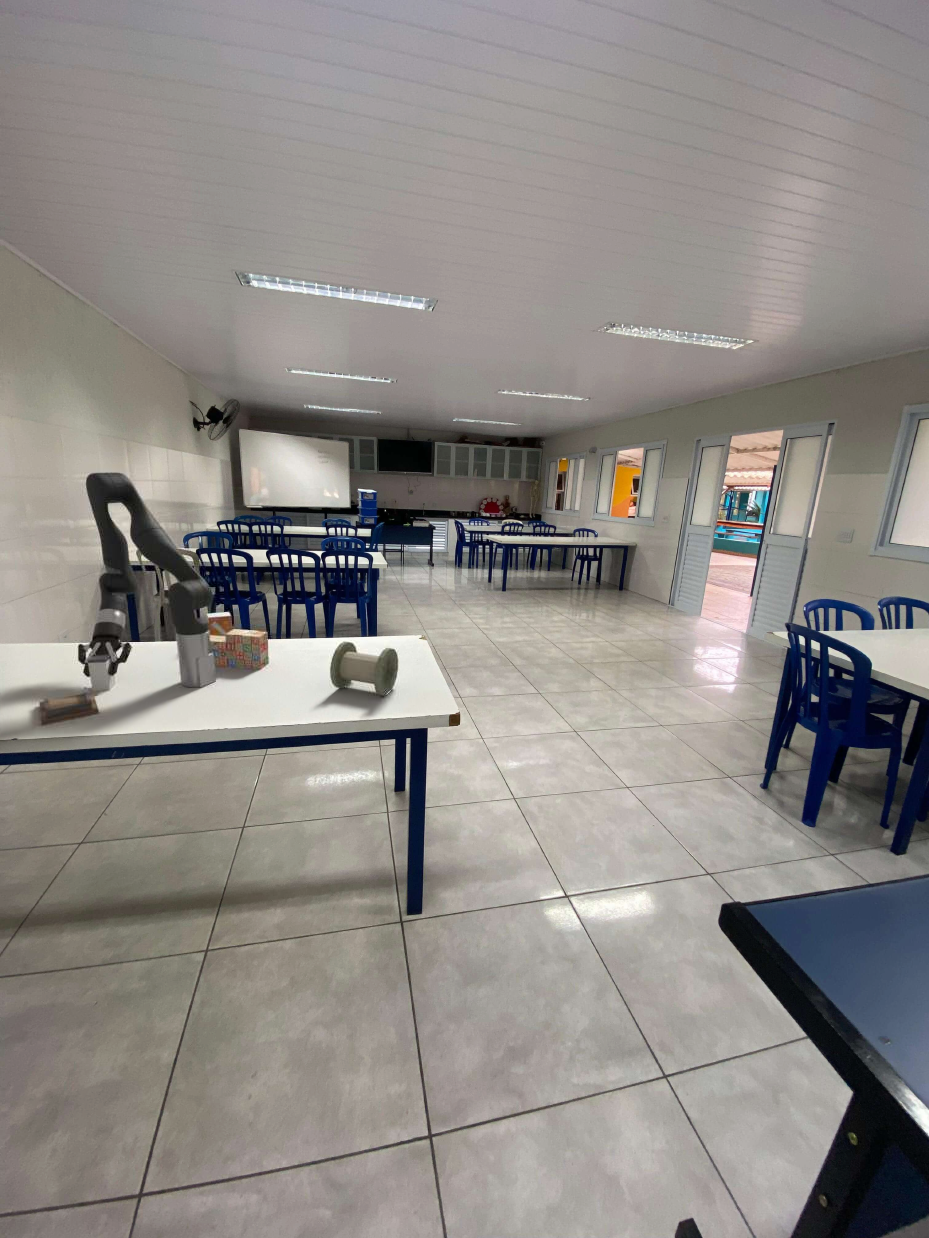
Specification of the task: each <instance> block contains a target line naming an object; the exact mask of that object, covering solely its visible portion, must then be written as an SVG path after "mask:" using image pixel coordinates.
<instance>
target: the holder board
mask: <svg viewBox="0 0 929 1238" xmlns="http://www.w3.org/2000/svg"><path fill="white" fill-rule="evenodd" d="M38 705H39V716H40V724H41V726H44V725H51V724H55V723H59V722H63V721H69V720H73V719H78V718H83V717H88V716H92V715H97V714H100V711H99V706H98V704H97V701H96V697H95V694H94V691H91V692H89V690H88V686H85V687H83V693H80V694H73V695H69V696H64V697H59V698H53V699H49V695H48V694H47V693H46V694H43V700H41V701H39V702H38Z"/></svg>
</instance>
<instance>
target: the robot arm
mask: <svg viewBox="0 0 929 1238" xmlns="http://www.w3.org/2000/svg"><path fill="white" fill-rule="evenodd" d="M85 487H86V494H87V498H88V501H89V504H90V508H91V510H92V514H93V517H94V521H95V523H96V527H97V530H98V533H99V534H98V535H99V539H100V545H101V554H102V555H101V556H102V561H103V565H105V566H106V567H108V568H111V569H114V570H115V569H116V570H117V571H119V572H109V571H108V572H104V573H103V574H101V575H100V576H99V578H98V579H99V580H98V584H99V589H100V597H101V599H100V606H99V611H98V613H97V616H96V619H95V624H94V629H93V633H92V638H91V641H90V642H89V643H88V644H83V643H79V644H78V645H77V654H78V655H77V661H78V662H79V663H80V664H81V665H84V667H83V671H82V672H83V674H84V675H85V677H86V678H87V677H88V678H90V672H89V666H88V659H89V658H91V657H92V656H94V655H102V654H109V655H110V656H111V659H112V662H111V664H110V669H109V674H110V675H111V676H114V677H115V675H116V674H117V673H118V667H119V665H120V664H126V663H127V661H128V658H129V656H130V653H131V651H132V648H133V645H131V643H130V642H125V643H124V642H122V641H123V637H124V636H123V635H124V630H125V627H126V616H127V615H126V614H127V610H128V606H129V605H128V600H127V599H126V597H123V596H122V595H132V594H135V593H136V592H137V591H138V588H139V581H138V578H137V576H136V574H135V572H134V569H133V567H132V565H131V562H130V554H129V553H130V552H129V544H128V540H127V539H126V536H125V535H124V533H123V532H122V530H120V528H119V527H118V526H117V524H116V523H115V522H114V520H113V518H112V517H111V515H110V511H109V504H119V503H121V504H122V505H123V506H124V507H125V508H126V510H127V511H128V512H129V515H130V528H129V536H130V538H131V541H132V542H133V544H134V546H135V547H136V549H138V551H139V552H140V553H141V555H142V556H143V557H144V558H145V559H147V561H149V562H151V563H152V564H154V565H155V566H156V567H159V568H161V569H163V570H165V571H166V572H167V573H169V574H171V575H172V576H173V577H175V579H176V580H177V582H175V583H173V584H171V585H170V586H169V588H168V592H167V599H168V604H169V605H168V606H169V611H170V616H171V623H172V624H173V626H174V629H175V635H176V636H175V638H176V647H177V655H178V657H177V658H178V664H179V665H178V666H179V672H180V673H179V675H180V683H181V686H183V687H186V688H203V687H205V686H207V685H209V684H212V683H214V682H216V681H217V676H216V674H217V673H216V666H215V661H214V654H213V653H211V644H210V633H209V623H208V621H207V619H202V618H197V617H196V612H195V611H196V610H200V609H203V608H206V607H209V606H210V605H211V604H212V603H213V601H214V595H213V591H212V588H211V586H210V585H209V584H208V582H207V581H206V580H205V578H203V577H202V575H201V574H200V573H199V572H198V571H197V570H196V569H195V568H194V567H193V566H192V565H191V564H190V562H189V561H188V560H187V558H185V556H184V555H183V554H182V553H181V551H180V549H179V548H178V547H177V546H176V544H175V543H174V542H173V540H172V539H171V538H170V536H169V535H168V533H167V532H166V531H165V529H164V528H163V527H162V526H161V525H160V524H159V522H158V521H157V519H156V518H155V516H154V515H153V514H152V512H151V510H149V508H148V506H147V505H146V503H145V502H144V500H143V498H142V497H141V495H140V493H139V492H138V490H137V488H136V487H135V485H134V484H133V482H132V481H131V479H130V478H129V477H128V476H127V475H126V474H124V473H121V472H92V473H89V474H88V475H87V477H86V480H85ZM118 594H119V595H118ZM120 595H121V596H120ZM89 649H90V650H91V651H90V652H89V653H88V651H89ZM120 649H122V651H121V652H120V655H119V657H118V654H117V652H118V651H119V650H120ZM87 653H88V656H87Z"/></svg>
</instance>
